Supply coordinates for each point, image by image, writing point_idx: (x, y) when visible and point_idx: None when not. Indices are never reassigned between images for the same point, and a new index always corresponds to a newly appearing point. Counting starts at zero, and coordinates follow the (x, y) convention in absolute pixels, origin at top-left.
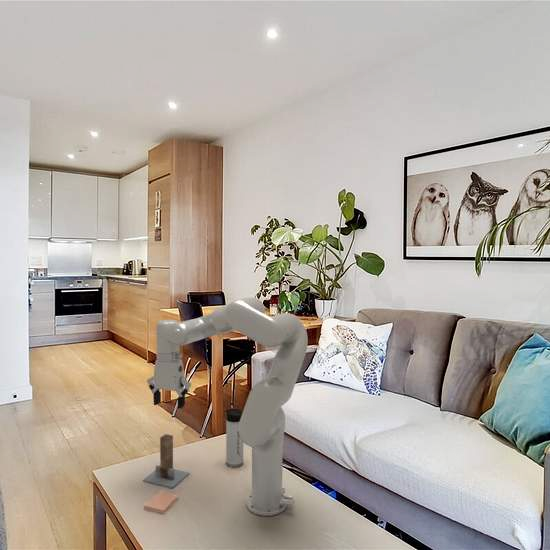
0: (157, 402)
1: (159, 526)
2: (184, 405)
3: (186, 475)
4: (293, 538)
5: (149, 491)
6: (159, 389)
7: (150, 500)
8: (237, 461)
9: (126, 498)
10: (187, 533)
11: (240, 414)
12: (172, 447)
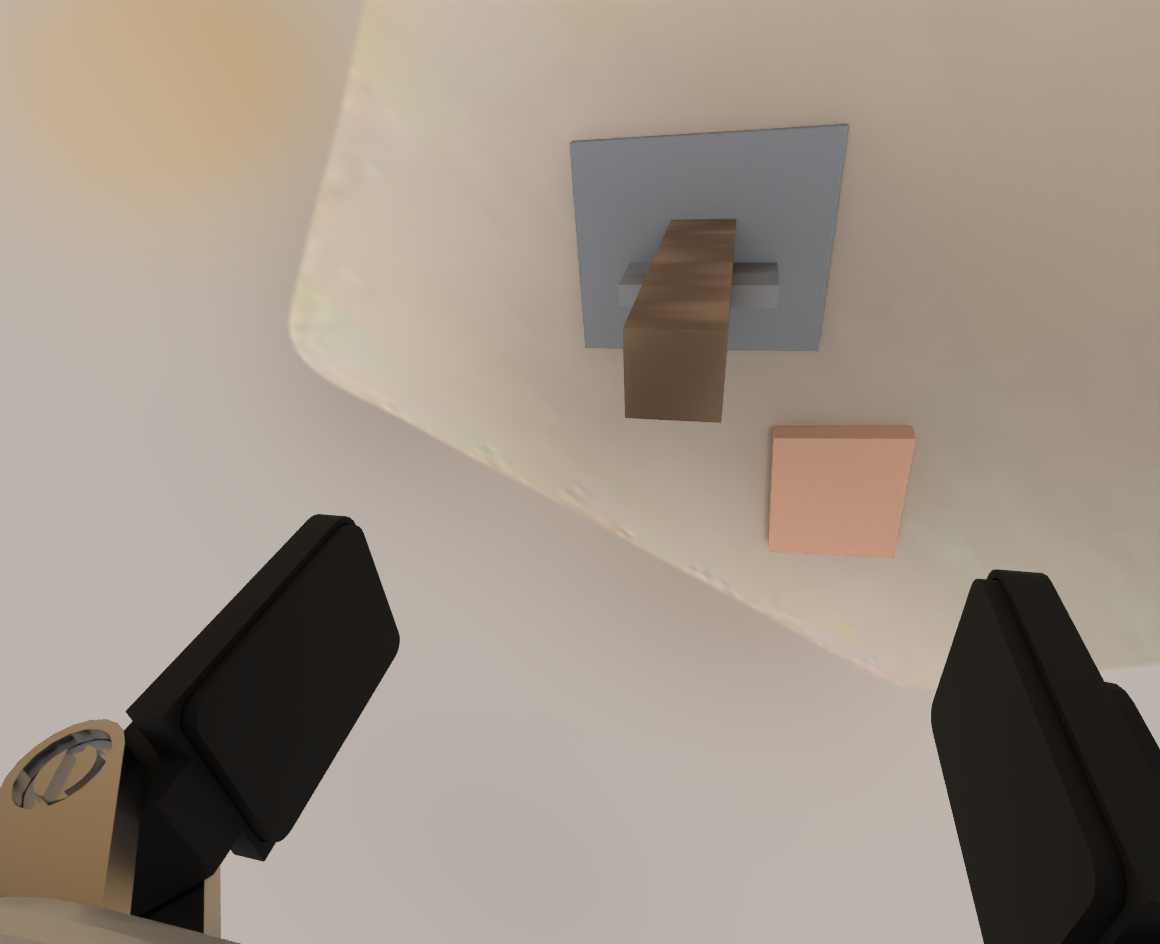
0: (373, 632)
1: (913, 607)
2: (1042, 574)
3: (842, 173)
4: None
5: None
6: (133, 827)
7: (776, 513)
8: None
9: (626, 493)
10: (1080, 618)
11: None
12: (730, 291)
